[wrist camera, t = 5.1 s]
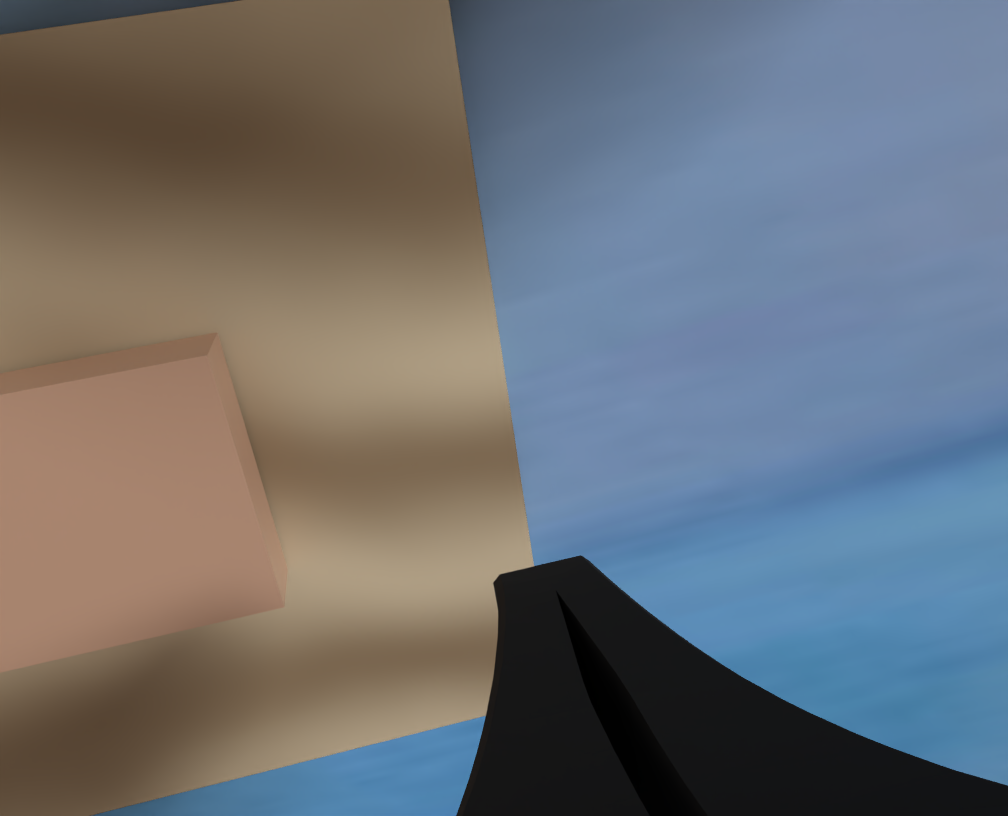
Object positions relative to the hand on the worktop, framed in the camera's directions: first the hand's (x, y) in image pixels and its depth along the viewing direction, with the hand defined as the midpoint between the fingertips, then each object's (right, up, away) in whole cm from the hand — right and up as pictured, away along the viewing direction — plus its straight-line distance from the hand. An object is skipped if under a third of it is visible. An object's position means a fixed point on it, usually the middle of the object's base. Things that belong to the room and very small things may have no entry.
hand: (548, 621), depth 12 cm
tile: (-6, +2, +6) cm, 8 cm away
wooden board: (-8, +2, +7) cm, 11 cm away
